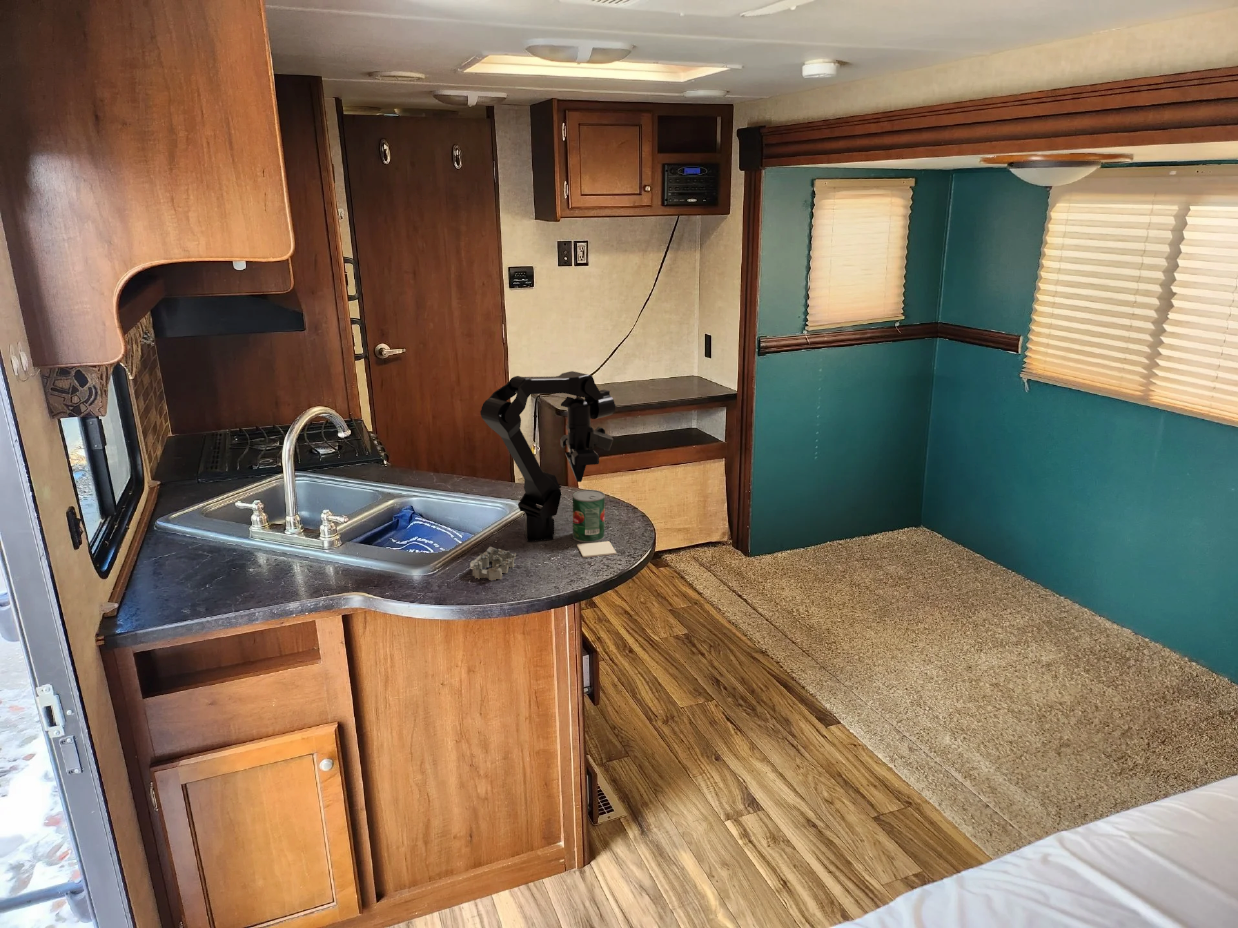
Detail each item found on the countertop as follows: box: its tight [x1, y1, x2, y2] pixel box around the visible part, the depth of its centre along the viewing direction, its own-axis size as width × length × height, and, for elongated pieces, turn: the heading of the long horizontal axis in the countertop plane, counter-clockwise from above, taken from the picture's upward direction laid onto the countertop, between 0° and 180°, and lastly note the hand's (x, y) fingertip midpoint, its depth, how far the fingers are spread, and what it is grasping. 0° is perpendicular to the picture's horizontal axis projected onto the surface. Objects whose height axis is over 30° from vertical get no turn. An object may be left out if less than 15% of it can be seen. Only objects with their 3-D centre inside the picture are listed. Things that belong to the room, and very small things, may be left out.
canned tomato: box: [572, 489, 606, 544], centre depth 204 cm, size 8×8×11 cm
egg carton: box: [469, 546, 517, 581], centre depth 186 cm, size 11×8×4 cm
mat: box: [576, 540, 617, 558], centre depth 198 cm, size 8×7×1 cm
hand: (579, 481), depth 212 cm, fingers closed
